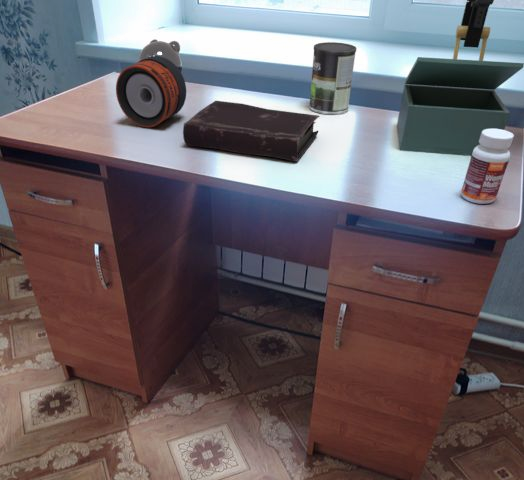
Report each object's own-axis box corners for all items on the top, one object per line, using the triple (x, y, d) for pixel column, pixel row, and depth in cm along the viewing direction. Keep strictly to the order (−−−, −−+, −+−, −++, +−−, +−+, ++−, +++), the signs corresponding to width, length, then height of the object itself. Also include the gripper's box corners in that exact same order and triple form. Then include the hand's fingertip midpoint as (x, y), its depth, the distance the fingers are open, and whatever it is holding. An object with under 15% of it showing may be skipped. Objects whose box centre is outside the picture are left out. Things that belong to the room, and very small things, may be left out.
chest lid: (523, 67, 97) (532, 24, 95) (417, 61, 99) (423, 19, 97) (494, 90, 114) (501, 53, 112) (404, 84, 116) (409, 48, 114)
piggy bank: (191, 83, 146) (188, 38, 138) (171, 97, 135) (167, 48, 127) (155, 80, 148) (151, 35, 140) (133, 93, 137) (126, 45, 130)
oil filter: (120, 124, 118) (110, 61, 109) (145, 110, 127) (138, 51, 118) (170, 131, 115) (164, 67, 106) (192, 116, 124) (188, 56, 115)
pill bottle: (480, 207, 89) (502, 142, 81) (452, 195, 92) (471, 131, 85) (502, 199, 91) (525, 135, 84) (474, 187, 95) (493, 125, 88)
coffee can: (312, 115, 126) (317, 50, 117) (306, 102, 134) (310, 41, 125) (352, 114, 127) (360, 51, 118) (344, 102, 135) (351, 42, 126)
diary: (296, 164, 102) (298, 138, 99) (183, 147, 108) (181, 123, 104) (318, 135, 115) (320, 111, 112) (217, 121, 121) (216, 99, 118)
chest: (495, 157, 107) (509, 112, 101) (399, 150, 109) (408, 105, 103) (482, 131, 120) (494, 90, 114) (396, 125, 122) (404, 84, 116)
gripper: (473, -109, 95) (442, 34, 110) (495, -115, 80) (455, 51, 95) (515, -108, 94) (477, 36, 109) (544, -113, 79) (496, 54, 94)
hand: (467, 43), depth 102 cm, fingers open, 7 cm apart
